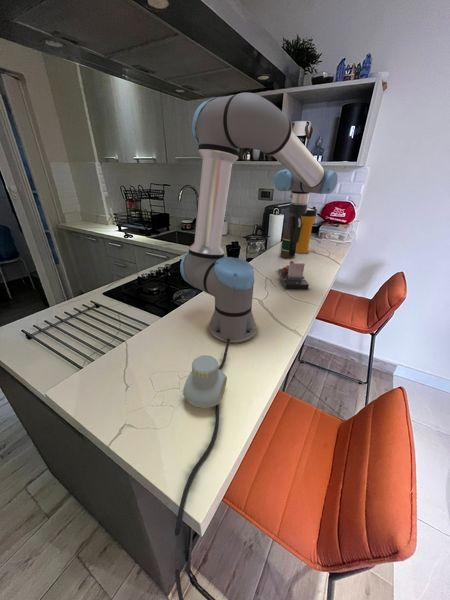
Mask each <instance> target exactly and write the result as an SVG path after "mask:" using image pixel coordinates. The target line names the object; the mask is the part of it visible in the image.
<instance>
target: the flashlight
mask: <svg viewBox="0 0 450 600" xmlns="http://www.w3.org/2000/svg"><path fill="white" fill-rule="evenodd" d="M317 213H318V208H315V207H307V212H306V213H305V214H302V222H301V223H303V225H302V228H301V232H300V237H299V242H298V243H297V244H296V251H295V253H297V254H308V251H309V246H310V240H311V235H312V229H313V225H314V223H315V222H316V218H317Z"/></svg>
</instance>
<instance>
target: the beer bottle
mask: <svg viewBox="0 0 450 600" xmlns="http://www.w3.org/2000/svg"><path fill="white" fill-rule="evenodd" d="M292 216H293V214H292V213H289V215H288V222H287V226H286V229H285V231H284V232H283V234H282V239H281V245H280V257H281V258H282V259H286V260H287V259H288V260H291V259H293V258H294V257H295V256H289V255H288V254H289V247H290V239H289V236H290V218H291V217H292Z"/></svg>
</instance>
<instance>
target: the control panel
mask: <svg viewBox="0 0 450 600" xmlns="http://www.w3.org/2000/svg"><path fill="white" fill-rule="evenodd" d="M287 277H288V275H282V274H281V275H280V281H281V283H282V285H283V287H284V290H300V291H301V290H303V291H306V290H307V291H308V290H309V286H310V284H309V283H308V281H307V279H306V278H305V276H304V275H303V276H302V280H288V278H287Z"/></svg>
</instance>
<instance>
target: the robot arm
mask: <svg viewBox="0 0 450 600" xmlns="http://www.w3.org/2000/svg"><path fill="white" fill-rule="evenodd" d="M191 122H192V123H191V130H192V136H193V137H194V141H195V144H197V145H198V149H197V153H198V154H199V156H200V158H201V159H202V162H201V172H200V181H199V182H200V183H199V192H198V201H197V211H196V220H195V221H196V223H195V232H194V241H193V243H192V244H191V245H190V246H189V247H188V252H186V253H185V254H184V257H182V258H181V261H180V265H179V271H180V274H181V277H182V279H183V281H185V282H186V283H187V284H189V285H190V286H191V287H193V288H195V289H198V290H200V291H201V292H204V293H206V294H207V295H210V296H212V297H214V311H213V313H212V316H211V319H210V322H209V333H210V335H211V337H213V338H214V339H215V340H217V341H219V342H221V343H225V349H224V352H223V357H222V360H221V363H220V365H218V369H219V370H221V371H222V369H223V367H224V365H225V362H226V359H227V354H228V350H229V346H230V344H242V343H245V342H248V341H250V340H251V339H253V337H254V336H255V335H256V330H257V326H256V325H257V324H256V321H255V317H254V315H253V310H252V309H253V308H252V307H253V296H254V287H255V271H254V267H253V266H252V264H251V263H249V262H248V261H247V260H245V259H242V258H239V257H233V256H225V250H224V249H223V247H222V241H223V232H224V225H225V219H226V217H225V216H226V211H227V204H228V197H229V189H230V182H231V175H232V169H233V168H232V167H233V164H234V163H236V162H237V161H238V160H239V156H240V149H253V150H257V151H260V152H261V153H263V155H265V156H269V157H270V156H272V157H273V158H274V159H275V160H277V161H278V162H279V163H280V164H281V165H282V166H283V167H284V169H281V170H278V171H277V172H276V174H275V175H274V180H273V181H274V182H273V183H274V186H275V187H274V188H276V190H278V191H279V192H287V191H288V192H291V193H290V195H289V198H290V200H289V202H290V203H289V207H288V212H289V214H293V216H292V217H291V218H290V236H289V239H290V247H289V254H288V255H289V256H294V257H295V256H296V244H297V243H298V242H299V237H300V232H301V228H302V225H303V223H301V222H302V214H305V213H306V212H307V208H308V203H309V199H310V194H318V195H319V194H320V195H330V194H333V192H334V191H335V190H336V188H337V185H338V179H339V178H338V176H339V175H338V173H337V172H336V171H335V170H330V169H327V170H326V169H325V168H323V166H322V165H321V164H320V162H319V161H318V160H317V159H316V157H315V156H314V155H313V154H312V153H311V151H310V150H309V149H308V148H307V147H306V145H304V143H303V142H302V141H301V140H300V138H299V137H298V136H297V135H296V134H295V132H294V131H293V125H292V122H291V121H290V119H289V118H288V117H287V115H285V114H284V112H283V111H282V110H281V109H280V108H279V107H277V106H276V105H275V104H274V103H273V102H271V101H269V100H268V99H266V98H264V97H263V96H261V95H258V94H257V93H253V92H245V91H244V92H240V93H236V94H232V95H227V96H226V95H225V96H221V97H212V98H210V99H208V100H205V101H203V102H202V103H200V105H198V107H197V108H196V110H195V111H194V114H193V118H192V121H191ZM219 404H220V403H219ZM219 404H218V405H216V406H215V421H214V429H213V433H212V436H211V440H210V442H209V444H208V446H207V448H206V449H205V451H204V453H203V454H202V456H201V457H200V458H199V459H198V460H197V462H196V463H195V465H194V467H193V468H192V470H191V472H190V474H189V477H188V479H187V481H186V482H185V485H184V488H183V491H182V495H181V498H180V503H179V508H178V512H177V517H176V523H175V529H174V535H175V536H176V537H177V536H179V534H180V533H181V527H182V521H183V516H184V509H185V504H186V500H187V497H188V493H189V490H190V487H191V484H192V483H193V479H194V477H195V475H196V473H197V472H198V469H199V468H200V467H201V465H202V464H203V462H204V461H205V460H206V459H207V457H208V456H209V454H210V452H211V451H212V449H213V447H214V444H215V441H216V439H217V435H218V430H219V422H220V405H219ZM180 574H181V571H180V569H179V568H177V569H176V568H175V569H174V576H175V585H176V593H177V596H178V600H184V596H183V591H182V584H181V575H180Z"/></svg>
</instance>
